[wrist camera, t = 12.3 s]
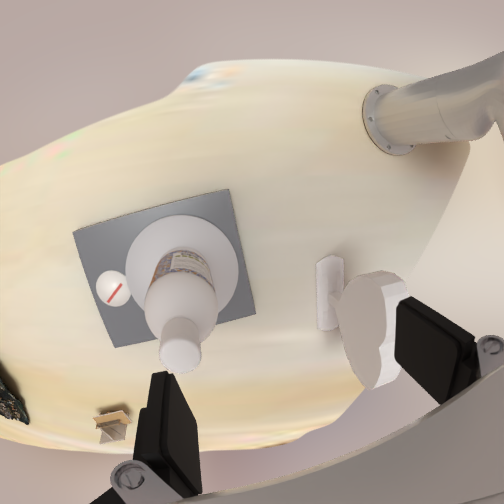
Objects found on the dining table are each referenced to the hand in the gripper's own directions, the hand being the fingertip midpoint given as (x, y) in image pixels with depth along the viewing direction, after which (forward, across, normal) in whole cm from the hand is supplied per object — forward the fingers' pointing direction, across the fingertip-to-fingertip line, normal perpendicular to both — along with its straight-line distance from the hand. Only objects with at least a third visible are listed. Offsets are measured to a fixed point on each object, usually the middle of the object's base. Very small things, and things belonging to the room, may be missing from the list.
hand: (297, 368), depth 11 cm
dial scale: (+32, +10, +4) cm, 33 cm away
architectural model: (+31, +29, +28) cm, 51 cm away
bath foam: (+28, +7, +4) cm, 29 cm away
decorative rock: (+30, +55, +19) cm, 66 cm away
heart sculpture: (+32, -14, +15) cm, 39 cm away
